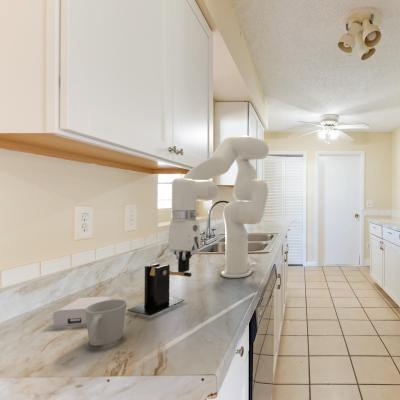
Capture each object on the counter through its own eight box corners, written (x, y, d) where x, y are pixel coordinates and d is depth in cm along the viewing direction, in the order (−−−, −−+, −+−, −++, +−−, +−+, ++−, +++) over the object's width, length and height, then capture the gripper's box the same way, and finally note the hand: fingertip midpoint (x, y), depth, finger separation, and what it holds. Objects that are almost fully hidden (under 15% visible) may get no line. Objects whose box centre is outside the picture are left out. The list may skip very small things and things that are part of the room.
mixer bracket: (162, 299, 88) (162, 260, 88) (184, 303, 84) (184, 262, 84) (127, 314, 76) (127, 268, 77) (150, 319, 73) (150, 272, 73)
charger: (122, 304, 83) (94, 327, 69) (89, 306, 82) (53, 329, 67) (122, 289, 83) (95, 308, 69) (89, 290, 82) (53, 310, 67)
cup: (131, 333, 66) (131, 298, 66) (113, 356, 56) (113, 315, 56) (95, 336, 64) (95, 300, 64) (70, 361, 54) (70, 318, 54)
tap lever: (179, 277, 91) (180, 269, 92) (190, 278, 90) (192, 271, 90) (146, 274, 80) (148, 266, 80) (158, 276, 78) (160, 267, 79)
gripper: (210, 216, 91) (209, 270, 91) (176, 214, 96) (175, 266, 96) (193, 217, 84) (193, 276, 84) (157, 215, 89) (157, 271, 89)
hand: (183, 271), depth 90 cm, fingers closed
